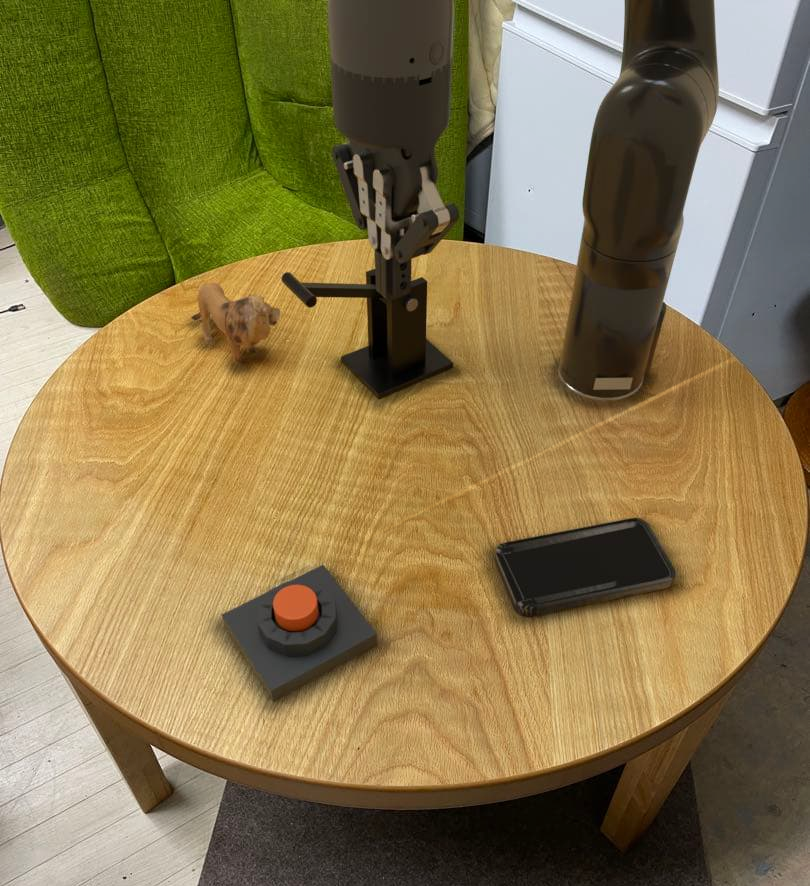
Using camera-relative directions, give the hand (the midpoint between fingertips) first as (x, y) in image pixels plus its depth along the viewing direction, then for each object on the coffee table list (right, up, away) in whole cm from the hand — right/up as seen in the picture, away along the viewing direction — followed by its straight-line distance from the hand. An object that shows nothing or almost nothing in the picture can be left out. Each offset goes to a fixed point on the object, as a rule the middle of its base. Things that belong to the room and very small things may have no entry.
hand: (393, 293), depth 66 cm
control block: (-8, -27, +8) cm, 29 cm away
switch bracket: (0, +1, +32) cm, 32 cm away
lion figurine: (-19, +3, +35) cm, 40 cm away
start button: (-8, -25, +6) cm, 27 cm away
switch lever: (-5, +5, +22) cm, 23 cm away
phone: (+17, -22, +13) cm, 31 cm away
